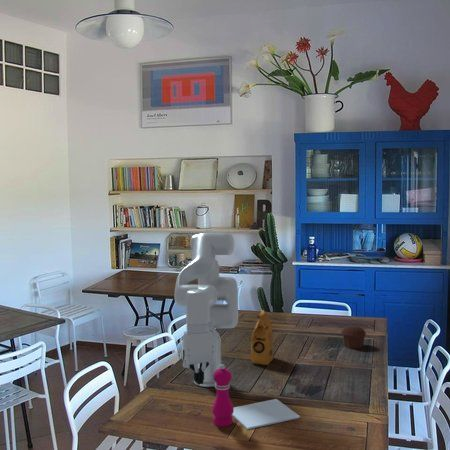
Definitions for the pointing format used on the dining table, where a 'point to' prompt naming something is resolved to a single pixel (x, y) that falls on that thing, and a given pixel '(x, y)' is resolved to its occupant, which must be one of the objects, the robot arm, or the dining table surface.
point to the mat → (263, 414)
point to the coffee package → (262, 341)
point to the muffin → (353, 336)
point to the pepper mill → (222, 398)
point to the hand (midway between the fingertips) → (199, 382)
